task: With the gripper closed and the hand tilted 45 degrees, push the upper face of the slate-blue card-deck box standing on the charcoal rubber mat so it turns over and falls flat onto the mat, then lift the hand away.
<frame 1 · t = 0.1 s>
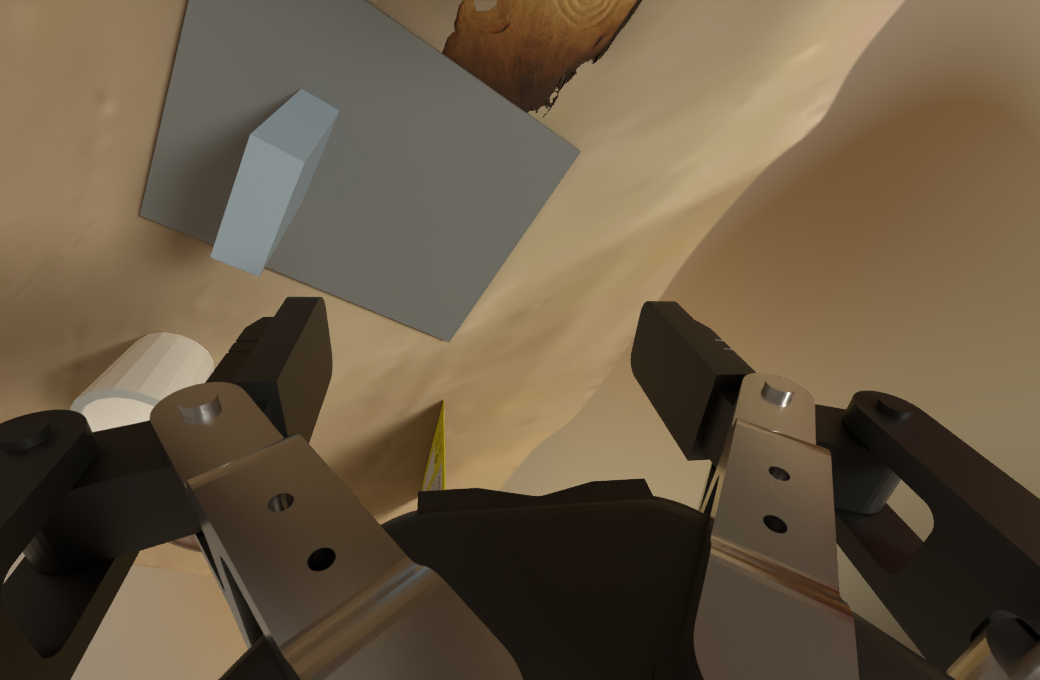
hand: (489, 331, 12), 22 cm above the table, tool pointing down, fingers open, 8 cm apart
food package: (430, 450, 49), on the table
white tapered cup: (175, 358, 38), on the table
mat: (366, 179, 31), on the table
deck: (301, 149, 29), point 1 cm above the table, touching mat
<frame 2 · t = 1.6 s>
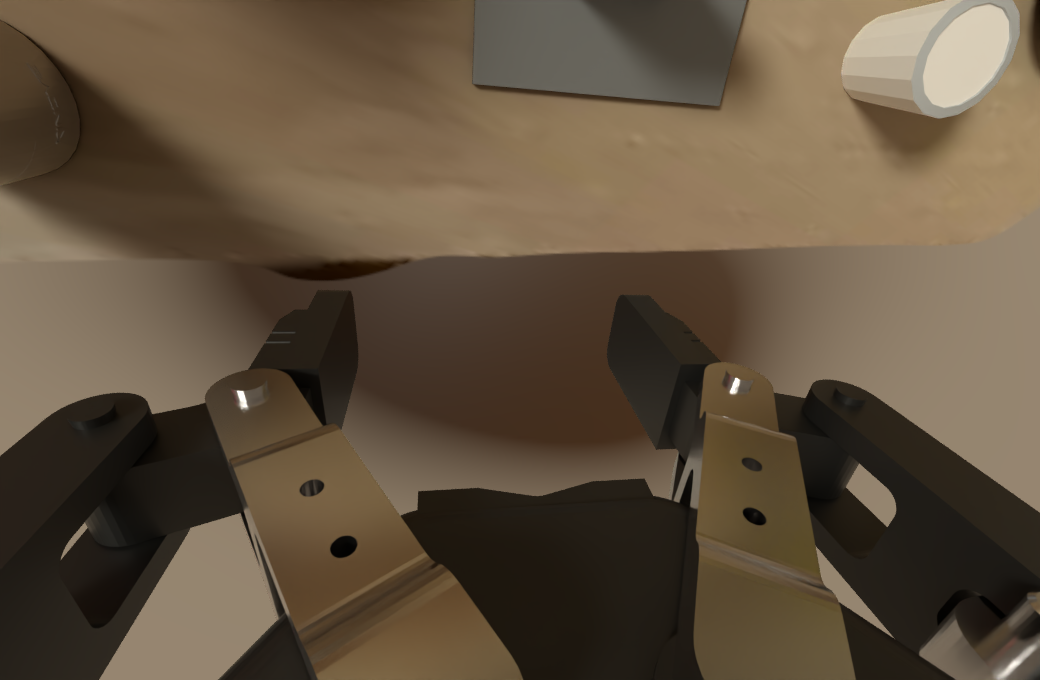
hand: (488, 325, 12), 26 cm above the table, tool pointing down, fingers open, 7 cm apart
white tapered cup: (875, 59, 36), on the table
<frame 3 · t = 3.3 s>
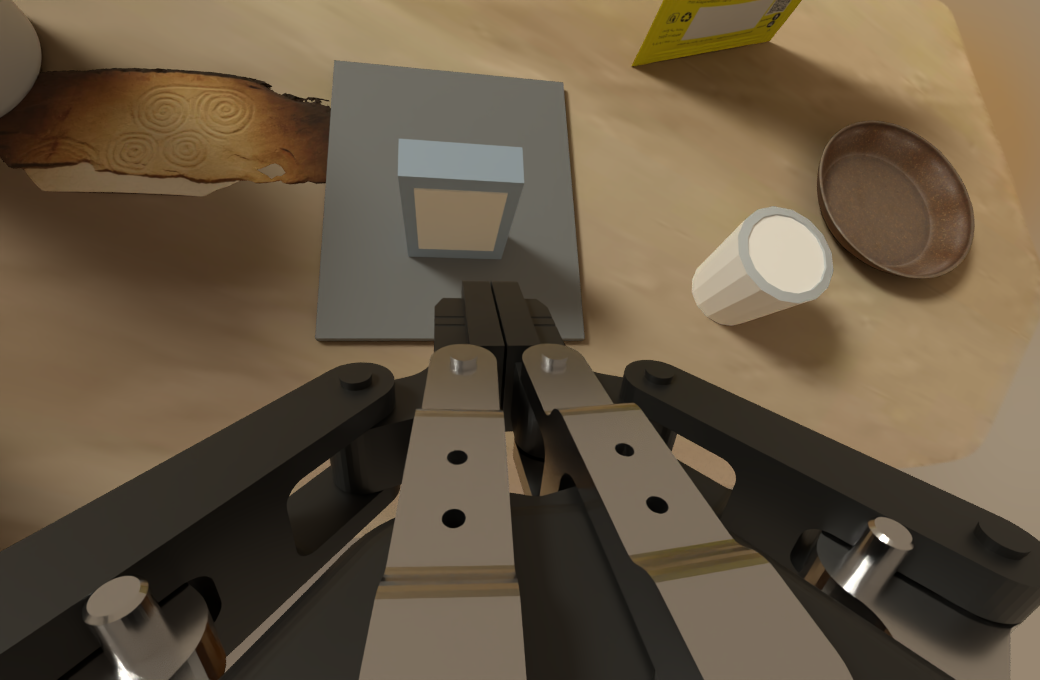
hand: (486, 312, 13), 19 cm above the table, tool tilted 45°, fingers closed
saucer: (870, 213, 43), on the table
food package: (702, 55, 44), on the table
white tapered cup: (723, 292, 37), on the table
mat: (454, 198, 35), on the table
parchment: (199, 140, 34), on the table
deck: (455, 243, 34), point 1 cm above the table, touching mat
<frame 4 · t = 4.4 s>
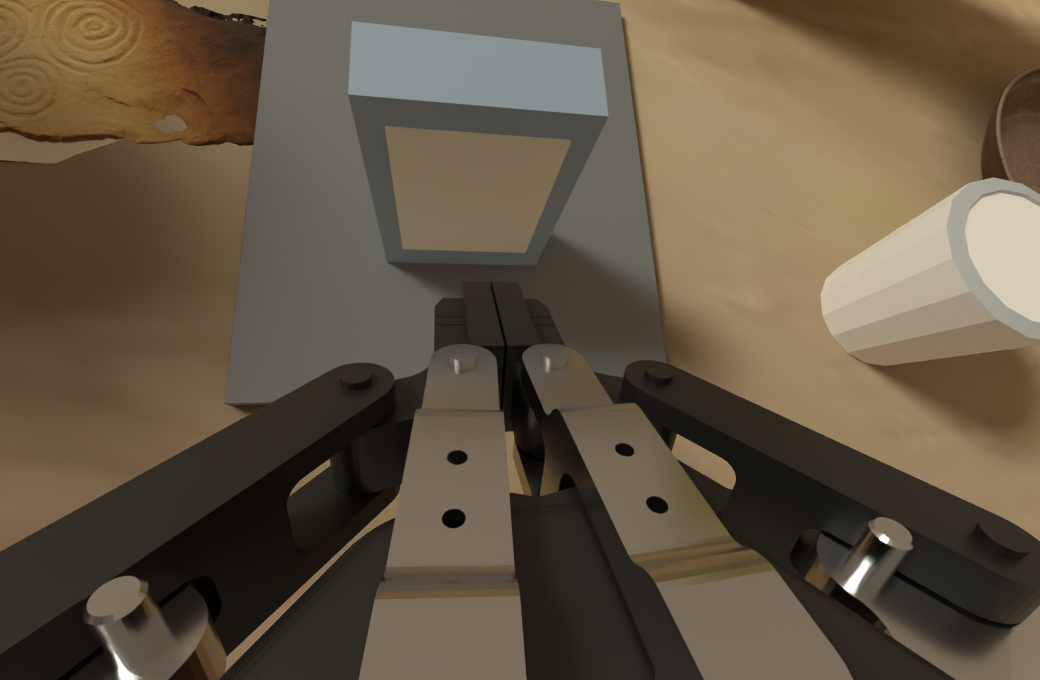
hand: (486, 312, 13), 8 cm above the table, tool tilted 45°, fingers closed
white tapered cup: (865, 314, 25), on the table
mat: (460, 171, 23), on the table
parchment: (52, 75, 21), on the table
deck: (462, 241, 21), point 1 cm above the table, touching mat
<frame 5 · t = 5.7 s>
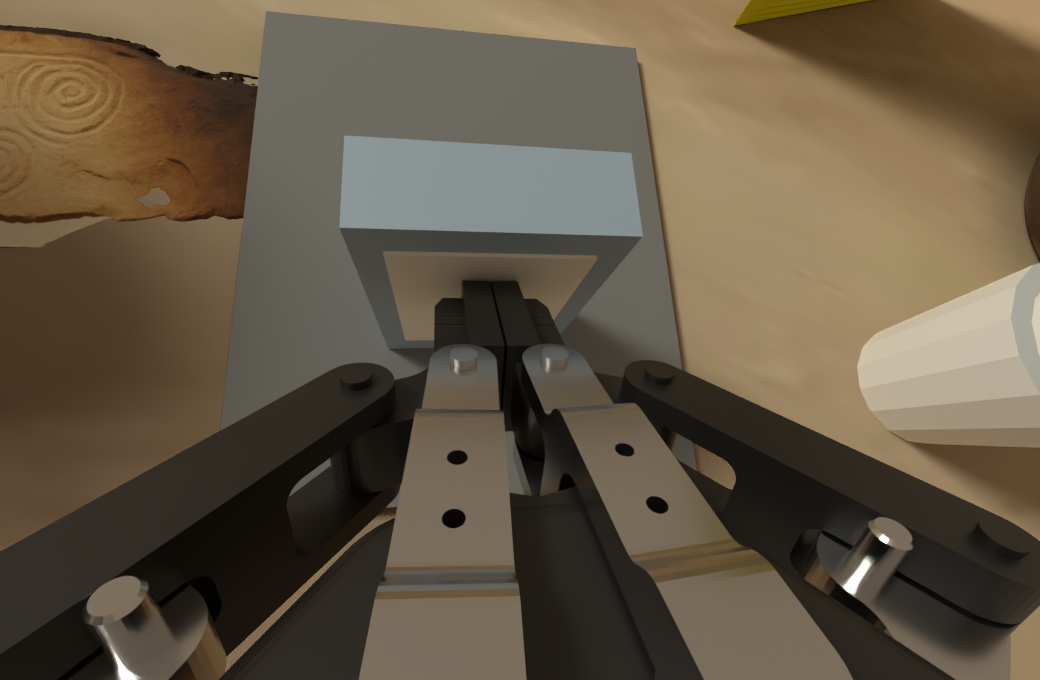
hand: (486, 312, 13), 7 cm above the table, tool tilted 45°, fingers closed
food package: (831, 11, 29), on the table
white tapered cup: (906, 385, 23), on the table
mat: (467, 239, 21), on the table
parchment: (26, 145, 20), on the table
deck: (470, 321, 19), point 1 cm above the table, touching gripper, mat
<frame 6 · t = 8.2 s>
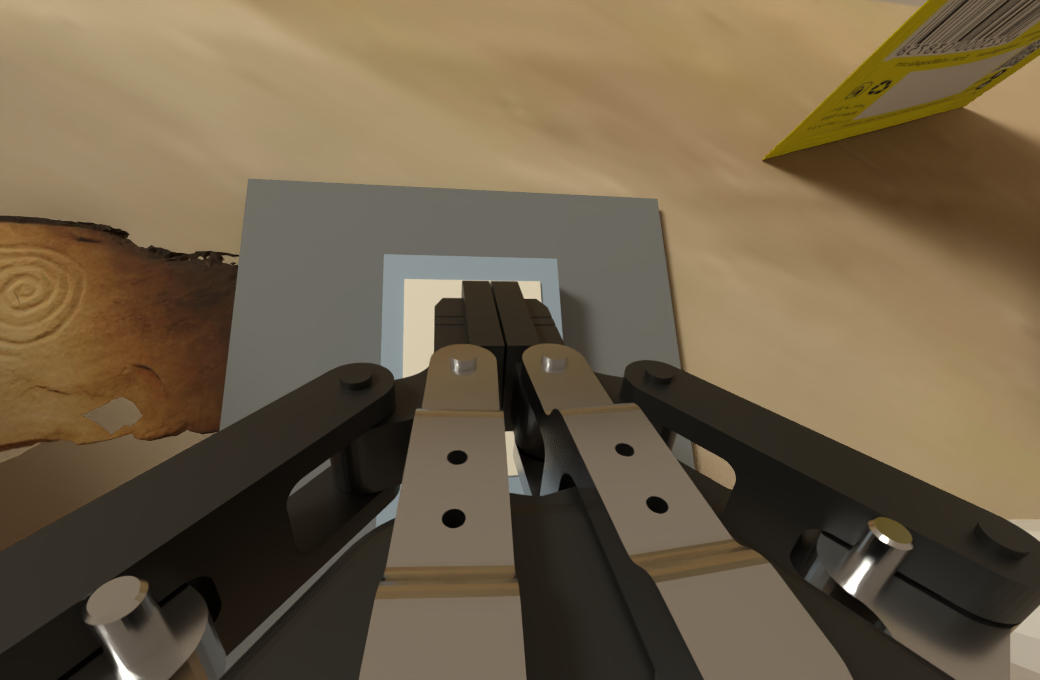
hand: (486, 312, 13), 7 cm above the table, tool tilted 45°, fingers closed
food package: (866, 135, 27), on the table
white tapered cup: (957, 587, 21), on the table
mat: (472, 443, 19), on the table
deck: (477, 521, 16), point 2 cm above the table, tilted 90°, touching mat
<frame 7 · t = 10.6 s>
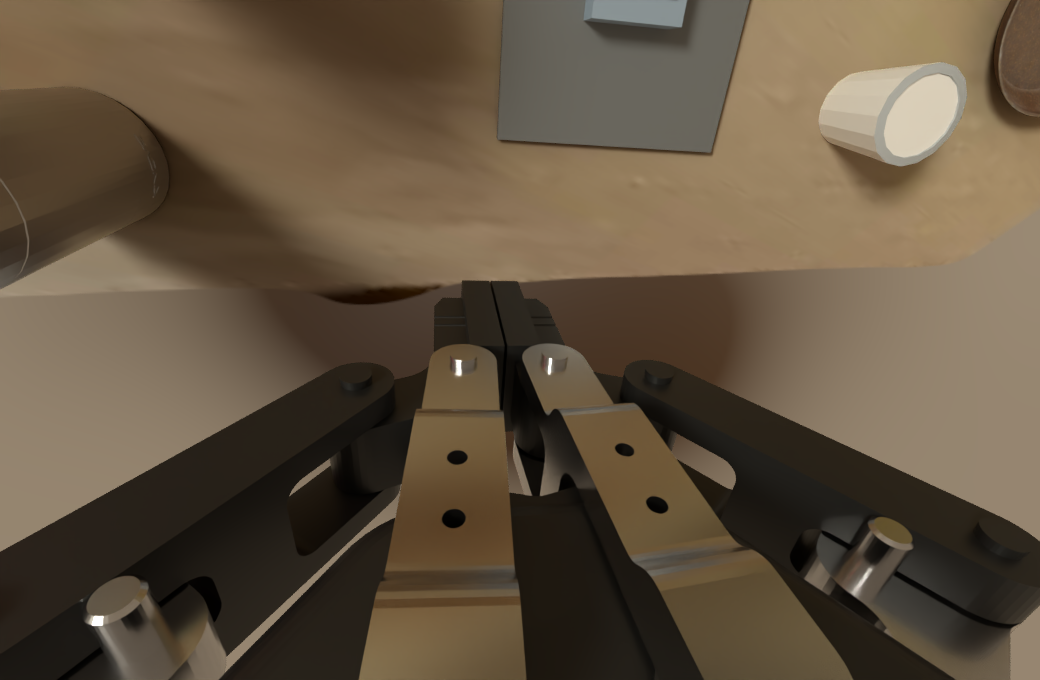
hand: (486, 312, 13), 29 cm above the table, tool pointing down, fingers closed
white tapered cup: (848, 109, 40), on the table
deck: (631, 23, 33), point 2 cm above the table, tilted 90°, touching mat
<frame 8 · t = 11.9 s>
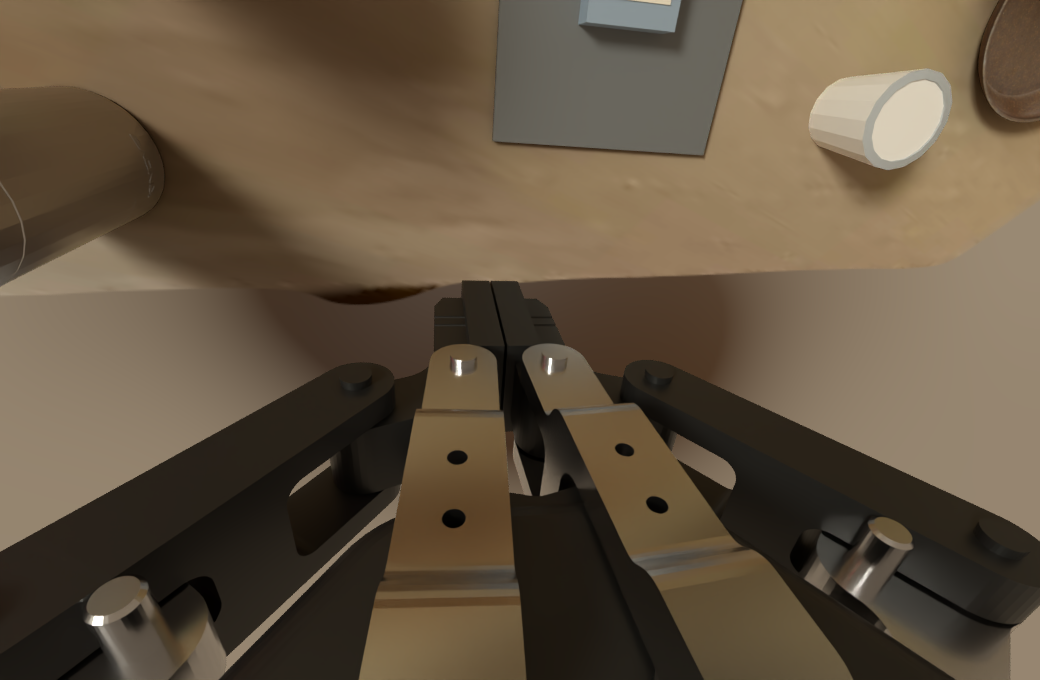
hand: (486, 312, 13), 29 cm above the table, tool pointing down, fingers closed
saucer: (1038, 23, 40), on the table
white tapered cup: (838, 113, 41), on the table
deck: (625, 28, 34), point 2 cm above the table, tilted 90°, touching mat
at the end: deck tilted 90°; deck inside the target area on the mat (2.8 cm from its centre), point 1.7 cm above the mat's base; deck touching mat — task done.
